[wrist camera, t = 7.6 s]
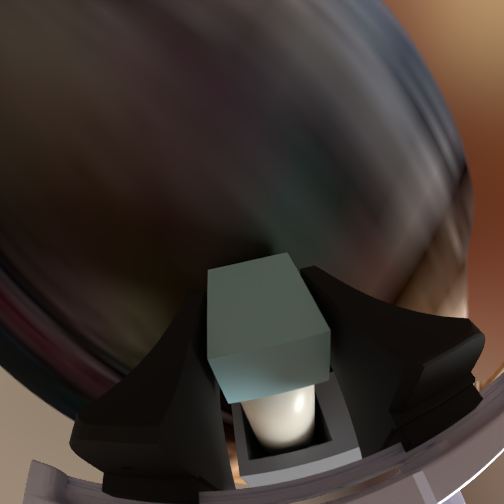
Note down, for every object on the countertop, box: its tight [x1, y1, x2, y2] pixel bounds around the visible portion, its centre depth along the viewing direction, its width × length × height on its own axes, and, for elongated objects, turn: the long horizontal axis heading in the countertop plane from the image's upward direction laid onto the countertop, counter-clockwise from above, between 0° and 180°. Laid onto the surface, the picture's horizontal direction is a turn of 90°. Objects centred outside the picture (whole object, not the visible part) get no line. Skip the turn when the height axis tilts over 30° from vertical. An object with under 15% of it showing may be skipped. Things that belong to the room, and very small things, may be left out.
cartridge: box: [207, 252, 331, 456], centre depth 12 cm, size 12×4×5 cm, turn 10°
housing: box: [231, 372, 362, 488], centre depth 16 cm, size 9×14×6 cm, turn 100°
